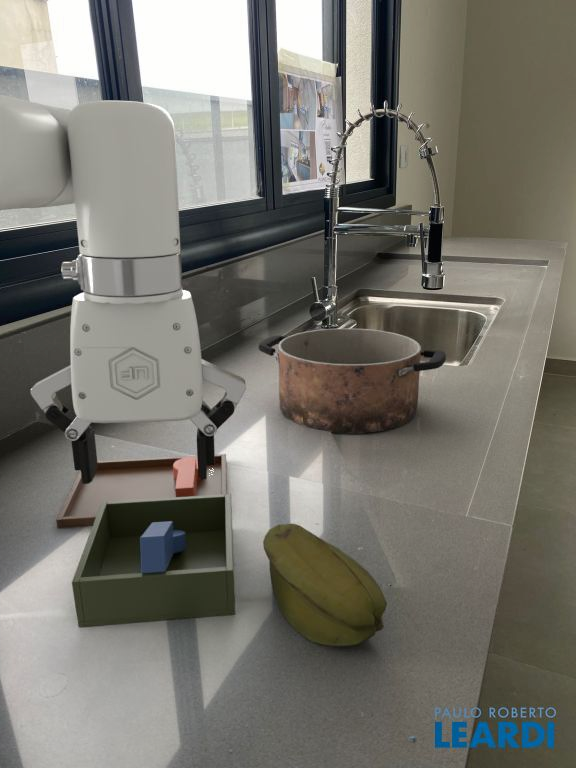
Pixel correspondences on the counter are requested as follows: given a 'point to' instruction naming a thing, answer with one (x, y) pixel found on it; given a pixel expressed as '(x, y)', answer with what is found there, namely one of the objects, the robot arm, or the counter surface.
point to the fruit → (322, 588)
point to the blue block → (160, 546)
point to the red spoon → (186, 476)
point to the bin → (162, 589)
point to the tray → (132, 486)
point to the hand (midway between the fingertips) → (147, 474)
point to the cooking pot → (349, 378)
